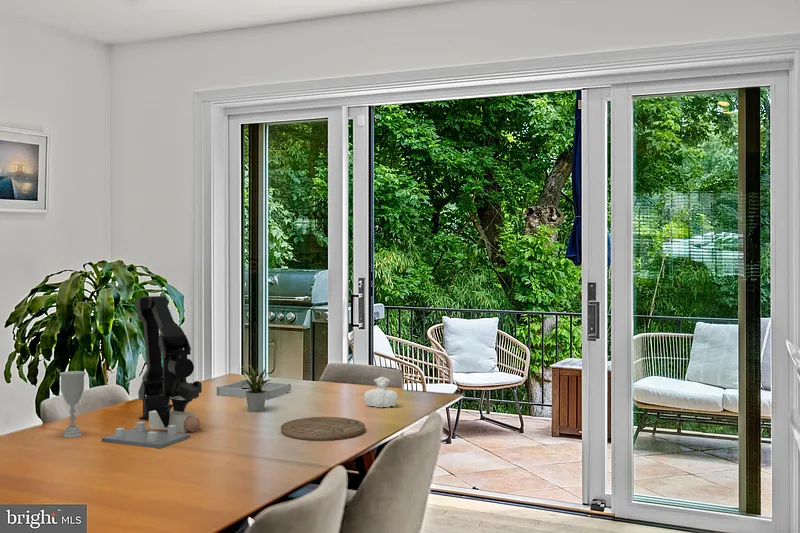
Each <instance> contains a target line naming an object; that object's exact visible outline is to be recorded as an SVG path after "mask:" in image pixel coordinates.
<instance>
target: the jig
mask: <svg viewBox="0 0 800 533" xmlns="http://www.w3.org/2000/svg"><path fill="white" fill-rule="evenodd" d="M146 424H147V423H146V421H138V422H136V428H135V427H132V428H130V429H126V428H124V427H117V428H115V429H114V430H115V433H112V434H109V435H107V436H103V437H101V442H104V443H112V444H113V443H114V444H120V445H129V446H136V447H144V448H145V447H147V448H153V449H154V448H155V449H163V448H165V447H168V446H170V445H174V444H176V443H180V442H182V441H186V440H188V439H190V438H191V434H190V433H180V432H177V426H176V425H169V426H168V431H166V430H157V429H147V428H146Z"/></svg>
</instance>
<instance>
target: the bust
mask: <svg viewBox="0 0 800 533" xmlns="http://www.w3.org/2000/svg"><path fill="white" fill-rule="evenodd" d="M373 381H374V383H376V386H377V387H376V388H373V389H369V390H366V391H364V394H363V395H364V396H363V397H364V403H365V404H366V406H368V407H371V406H376V408H383V407H387V408H391V407H390V406H393V407H394V406H396V403H397V400H398V398H399V394H398V392H396V391H394V390H392V389H388V388H387V387H388V386H389V383H390V382H391V379H388V378H387V377H386V376H379V377H378V378H373ZM386 386H387V387H386Z"/></svg>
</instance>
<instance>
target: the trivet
mask: <svg viewBox="0 0 800 533" xmlns="http://www.w3.org/2000/svg"><path fill="white" fill-rule="evenodd" d="M364 431H366V425H365V423H364V422H362V421H360V420H357V419H354V418H348V417H347V418H346V417H341V416H340V417H337V416H336V417H335V416H314V417H313V416H312V417H304V418H303V417H302V418H298V419H297V418H296V419H292V420H289V421H287V422H284V423H283V424H281V425H280V433H281V435H283V436H284V437H287V438H290V439H294V440H299V441H307V442H330V441H332V442H333V441H342V440H348V438H349V439H354V438H356V436H357V437H359V435H360V436H361V435H363V434H364V433H365V432H364ZM362 433H363V434H362Z"/></svg>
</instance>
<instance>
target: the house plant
mask: <svg viewBox="0 0 800 533" xmlns="http://www.w3.org/2000/svg"><path fill="white" fill-rule="evenodd" d="M259 364H260V363H258V364H257V368H256V369H255V370H254V369H253V365H251V364H249V368H250V371H248V369H247V368H245V366H243V365H239V367H242V368H243V369H242V368H240V370H241V371H240V373H241V374H242V375H243V376H244V378H245V379H244V380H243V381H245V382H247V383H243V382H242V384H241V386H242V385H244V384H248V385H249V386H250V388H251V390H250V389H249V390H250V391H246V404H247V410H248V411H249V412H254V413H255V412H262V411H264V410H265V404H266V400H267V399H266V393H267V390H266V391H265V390H262V387H263V386H264V384H265V383H266V382H270V383H271V379H266V380H264V379H265V378H266V376H267V375H268V374H269V373H270V372H271V371H273V369H276V368H277V366H276V367H273V368H271V369H270V370H269V371H267V370H266V367H265V368H264V369H263V370H262V372H260V374H259V375H258V369H259V367H260V365H259ZM266 371H267V373H266V374H265V372H266ZM243 372H244V373H243ZM245 374H246V375H245ZM247 377H248V378H247ZM238 381H239V382H240V381H241V380H238ZM250 381H251V382H252V384H251V383H250ZM260 382H261V383H260ZM270 383H268V384H270ZM268 384H267V385H268ZM263 389H264V388H263Z"/></svg>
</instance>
